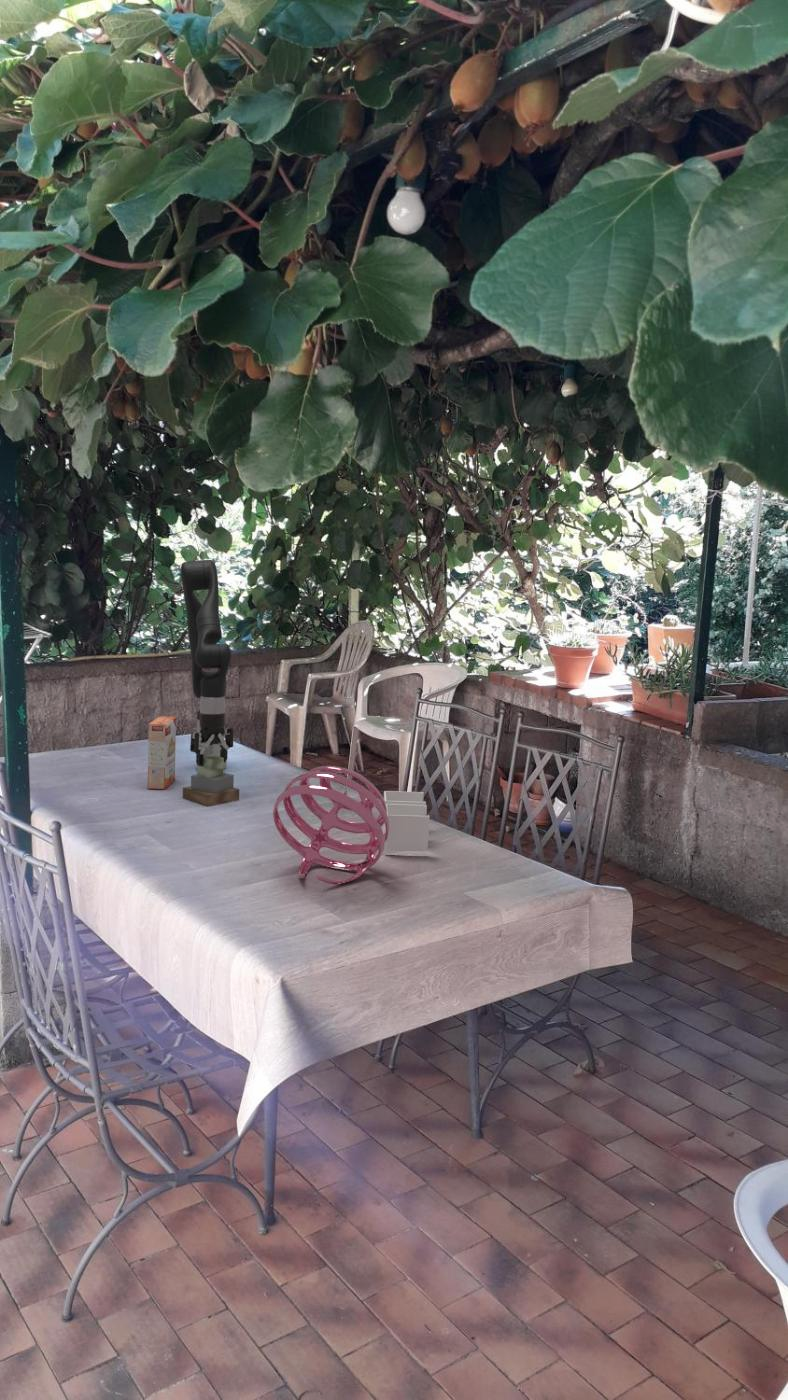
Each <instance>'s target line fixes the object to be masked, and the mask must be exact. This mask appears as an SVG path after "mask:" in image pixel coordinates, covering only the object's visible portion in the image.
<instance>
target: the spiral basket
mask: <svg viewBox="0 0 788 1400" xmlns="http://www.w3.org/2000/svg"><path fill="white" fill-rule="evenodd" d="M342 773H343V774H346V775H349V776H351V777H354V778H355V779H357V780H358V781H360V782H361V783H364V784H365V786H366V787H367V788H366V787H364V786H363V785H362V784H360V783H358V782H356V781H355V780H353V779H351V778H349V777H346V776H344V775H342ZM340 774H341V775H340ZM312 778H313V779H319V785H315V784H309V783H310V779H312ZM331 781H333V782H337V783H339V784H342V785H344V786H347V787H349V788H351V789H352V790H354V791H356V792H357V793H358V796H359V798H360V800H361V801H357V800H355V799H353V798H352V797H350V796H349V795H347V794H348V790H345V791H344V792H341V791H338V790H335V789H334V788H333V787H332V784H331ZM296 782H299V785H295V786H293V785H294V784H295V783H296ZM295 795H300V797H301V800H302V802H303V803H304V804H305V806H306V807H307V809H308V810H309V811H310V812H311V813H312V814H313V815H314V816H316V818H318V819H319V820H320V822H321V825H320V827H319V828H317V829H316V828H314V827H312V826H311V825H310V824H309V823H308V822H306V821H305V820H304V819H303V817H301V815H300V814H299V812H298V810H296V808H295V806H294V803H293V801H292V796H295ZM313 795H314V796H319V797H323V798H325V799H326V798H327V799H328V800H329V801H330V802H331V803H333V807H332V808H331V810H326V809H325V808H323V807H322V806H321V805H320V804H319V803H318V802H317V800H315V798H314V796H313ZM281 802H282V804H283V807H284V810H285V812H286V814H287V816H288V818H289V820H290V821H291V822H292V823H293V825H294V826H295V827H296V828H297V829H298V830H299V831H300V832H301V833H302V834H304V835H305V836H306V837H308V839H309V840H310V844H309V845H308V846H305V845H303V844H302V843H301V842H299V841H298V840H297V839H296V838H295V837H294V836H293V835H292V834H291V833H290V832H289V830H288V829H287V828H286V827H285V825H284V823H283V822H282V820H281V816H280V813H279V806H280V803H281ZM374 807H375V809H376V810H377V811H378V812H379V816H378V817H377V818H375V816H374V814H373V813H374V812H373V809H374ZM342 809H344V810H347V811H350V812H354V813H355V814H356V815H357V816H359V817H360V818H361V820H363V821H364V822H353V821H349V820H344V819H342V818H340V817H339V816H338V814H339V811H340V810H342ZM272 817H273V822H274V825H275V828H276V830H277V832H278V833H279V834H280V836H281V837H282V839H283V840H284V841H285V843H287V844H288V846H290V847H291V848H292V850H294V851H295V852H297V853H298V855H300V856H301V857H302V858H301V859H302V861H301V863H300V867H299V869H298V877H299V878H300V879H302V880H303V879H305V878H306V876H305V874H306V872H307V871H308V870H309V871H310V868H311V867H312V865H314V864H316V865H319V866H322V867H325V866H326V867H325V868H328V867H340V868H344V869H349V870H354V871H353V872H356V873H355V874H354V875H352V876H350V877H348V878H346V879H329V878H326V877H323V876H320V875H316V879H318V880H319V881H321V882H323V883H326V884H330V885H339V884H338V883H343V882H348V881H351V880H353V881H355V880H357V879H358V878H360V877H362V875H363V874H364V873H365V872H367V871H368V870H369V869H370V868H372V866H374V865H375V864H376V863H377V862H378V861H379V860H380V858H381V857H382V855H383V854H384V847H385V842H386V840H387V838H388V835H389V819H388V816H387V808H386V804H385V801H384V796H383V795H382V794H381V792H380V790H378V788H377V787H376V786H375V784H373V783H372V781H371V782H370V780H368V779H367V778H366V777H365V776H363V775H362V774H360V773H359V772H356V771H355V770H351V769H349V768H344V767H341V766H334V765H323V766H317V767H314V768H311V769H310V770H308V771H307V772H304V773H301V774H299V775H298V776H296V777H294V778H293V779H291V780H290V781H289V783H288V784H286V787H285V789H284V791H283V792H281V794H279V795H278V797H277V799H276V801H275V803H274V806H273V811H272ZM384 823H385V827H386V830H385V833H384V834H383V828H382V827H383V824H384ZM331 829H338V830H339V831H343V832H348V833H351V834H368V835H369V841H368V842H367V843H364V844H363V843H362V844H358V843H357V844H354V843H348V842H343V841H339V840H336V839H334V838H332V837H331V836H330V835H329V832H330V830H331ZM322 848H328V849H330V850H333V851H336V852H340V853H344V854H349V855H366V857H365V858H364V860H363V861H361V862H355V863H354V862H351V863H350V862H342V861H337V860H334V859H331V858H329V857H325V856H323V855H321V854H320V850H321V849H322ZM377 851H378V852H377ZM376 853H377V854H376ZM375 855H376V856H375ZM309 871H308V872H309ZM308 872H307V873H308ZM306 875H307V874H306ZM356 878H357V879H356ZM354 879H355V880H354ZM351 882H352V881H351ZM348 883H349V882H348Z"/></svg>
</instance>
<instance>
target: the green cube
mask: <svg viewBox="0 0 788 1400" xmlns="http://www.w3.org/2000/svg"><path fill="white" fill-rule="evenodd" d="M224 770H225V769H224V758H223V757H219V756H215V755H207V756H204V765H203V766H198V770H197V769H196V771H197V773H196V774H197V775H199V776H203V777H206V778H213V777H219V776H223V775H224V773H225V772H224Z"/></svg>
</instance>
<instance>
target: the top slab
mask: <svg viewBox="0 0 788 1400" xmlns="http://www.w3.org/2000/svg"><path fill="white" fill-rule="evenodd" d="M234 777H235V776H234V774H230V773H225V772H224V775H223V776H219V777H213V778H206V777H203V776H199V775H197V773H196V774H192V775H191V776H190V786H191V789H194V790H200V791H205V792H210V793H218V792H221V791H225V790H228V789H231V788H233V787H234Z"/></svg>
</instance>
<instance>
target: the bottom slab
mask: <svg viewBox="0 0 788 1400" xmlns="http://www.w3.org/2000/svg"><path fill="white" fill-rule="evenodd" d="M182 799H183V800H186V801H189V802H192V803H195V804H197V805H201V806H203V807H207V808H208V807H212V806H216V805H223V804H227V803H228V804H229V803H232V801H233V802H237V801H240V788H237V787H234V786H233V788H231V789H228V790H225V791H221V792H218V793H210V792H205V791H200V790H194V789H191V785H190V786H189V785H188V786H183V787H182Z"/></svg>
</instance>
